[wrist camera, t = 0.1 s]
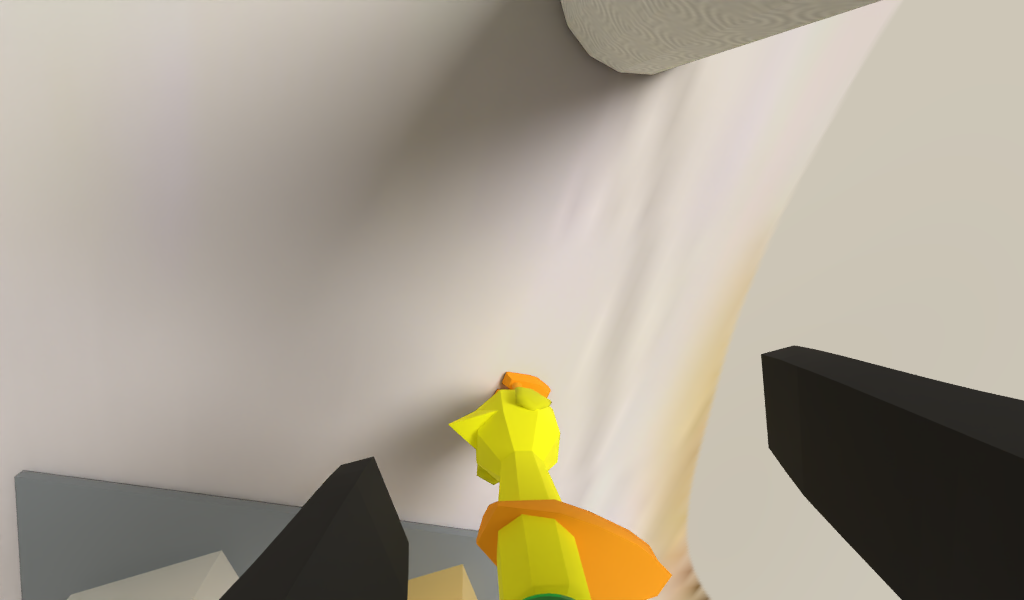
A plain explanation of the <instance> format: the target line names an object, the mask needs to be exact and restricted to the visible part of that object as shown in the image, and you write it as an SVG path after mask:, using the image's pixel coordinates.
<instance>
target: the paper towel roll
mask: <svg viewBox="0 0 1024 600" xmlns="http://www.w3.org/2000/svg"><path fill="white" fill-rule="evenodd" d="M560 1H561V4H562V8H563V11H564V15H565V19H566V22H567V26H568V27H569V29H570V30H571V31H572V33H573V34H574V35H575V37H576V38H577V39H578V41H579V42H580V43H581V45H582V46H583V47H584V49H585V50H586V51H587V53H588V54H589V55H590V56H591V57H593V58H595V59H597V60H598V61H600V62H602V63H604V64H605V65H607V66H609V67H611V68H613V69H614V70H616V71H618V72H622V73H637V74H651V75H653V74H656V73H659V72H662V71H665V70H668V69H671V68H674V67H677V66H681V65H684V64H687V63H690V62H693V61H696V60H699V59H702V58H705V57H708V56H711V55H714V54H718V53H721V52H724V51H727V50H730V49H733V48H736V47H739V46H742V45H745V44H748V43H751V42H755V41H758V40H761V39H764V38H767V37H770V36H773V35H776V34H779V33H782V32H785V31H788V30H792V29H795V28H798V27H801V26H804V25H807V24H810V23H813V22H816V21H819V20H822V19H825V18H829V17H832V16H835V15H838V14H841V13H844V12H847V11H850V10H853V9H856V8H859V7H862V6H866V5H869V4H872V3H875V2H878V1H881V0H560Z"/></svg>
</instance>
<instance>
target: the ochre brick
mask: <svg viewBox="0 0 1024 600" xmlns="http://www.w3.org/2000/svg"><path fill="white" fill-rule="evenodd" d="M407 600H478V599H477V597H476V595H475V592H474V590H473V588H472V585H471V583H470V580H469V578H468V576H467V573H466V571H465V568H464V566H463V564H461V565H458V566H454V567H451V568H447V569H444V570H441V571H437V572H434V573H430V574H427V575H424V576H420V577H417V578H413V579H410V580H408V598H407Z"/></svg>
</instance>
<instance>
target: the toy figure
mask: <svg viewBox="0 0 1024 600" xmlns="http://www.w3.org/2000/svg"><path fill="white" fill-rule="evenodd" d="M502 384H504V385H505V386H506V387H508V388H509V389H510V390H500V389H497V390H496V392H495V394H494V395H493V396H492V397H491V398H490V399H489V400H487V401H486V402H485V403H484V404H483V405H481V406H480V407H479V408H478V409H477V410H476V411H474V412H472V413H470V414H468V415H466V416H464V417H462V418H460V419H458V420H456V421H454V422H452V423H450V424H448V425H449V426H451V427H452V428H453V429H454V430H455V431H456V432H457V433H458V434H459V435H460V436H462V437H463V438H464V439H465V440H466V441H467V442H468V443H469V444H470V445H472V446H473V447H474V448H475V449H476V461H477V464H478V465H477V476H479V477H480V478H482V479H484V480H486V481H487V482H489V483H491V484H493V485H494V484H496V483H498V482H500V485H499V499H498V501H497V502H495V503H493V504H490V505H489V506H488V508H487V510H486V512H485V514H484V515H483V518H482V522H481V525H480V529H479V532H478V535H477V539H476V544H477V545H478V546H479V547H480V548H481V550H482V551H483V552H484V553H485V554H486V555H487V556H488V557H489V559H490V560H491V561H492V562H493V563H494V564H495V565H496V566H497V571H498V585H499V599H500V600H646V599H649V598H652V597H655V596H658V594H659V593H660V591H661V590H662V589H663V587H664V586H665V584H666V583H667V582H668V580H669V579H670V577H671V576H672V575H671V574H670V573H669V572H668V571H667V570H666V569H665V567H664V566H663V565H662V564H661V563H660V562H659V561H658V560H657V558H656V556H655V555H654V553H653V551H652V549H651V548H650V546H649V545H648V544H647V543H645V542H644V541H643V540H641V539H640V538H639V537H637V536H636V535H635V534H633V533H632V532H631V531H629V530H628V529H626V528H623V527H621V526H619V525H617V524H615V523H613V522H611V521H609V520H606V519H604V518H602V517H600V516H598V515H596V514H594V513H592V512H590V511H587V510H584V509H581V508H578V507H575V506H572V505H569V504H566V503H563V502H562V501H561V499H560V497H559V494H558V492H557V490H556V488H555V486H554V483H553V481H552V479H551V477H550V475H549V472H548V470H549V469H550V468H551V467H553V466H554V465H555V464H556V463H557V460H558V450H559V440H560V431H559V428H558V425H557V422H556V419H555V415H554V412H553V409H552V408H551V407H549V406H550V404H551V403H552V402H551V400H549V399H547V397H548V395H549V393H550V391H551V390H550V388H549V387H548V386H547V385H546V384H545V383H544V382H542V381H541V380H540V379H539V378H537V377H534V376H531V375H525V374H519V373H512V372H506V374H505V376H504V378H503V381H502Z"/></svg>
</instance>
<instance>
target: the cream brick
mask: <svg viewBox="0 0 1024 600" xmlns="http://www.w3.org/2000/svg"><path fill="white" fill-rule="evenodd" d="M238 579H239V577H238V575H237V574H236V572H235V571H234V569H233V567H232V566H231V564H230V563H229V561H228V560H227V558H226V556H225V555H224V553H223V552H222V550H221V551H217V552H214V553H211V554H207V555H204V556H200V557H197V558H194V559H190V560H187V561H183V562H180V563H177V564H173V565H170V566H166V567H163V568H160V569H156V570H153V571H150V572H146V573H143V574H139V575H136V576H133V577H129V578H126V579H122V580H119V581H116V582H112V583H109V584H105V585H102V586H99V587H95V588H92V589H88V590H85V591H82V592H78V593H75V594H71V595H70V596H69V598H68V599H67V600H219V599H220V598H221V597H222V596H223V595H224V594H225V593H226V591H227V590H228V589H229V588H230V587H231V586H232V585H233V584H234V583H235V582H236V581H237V580H238Z"/></svg>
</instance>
